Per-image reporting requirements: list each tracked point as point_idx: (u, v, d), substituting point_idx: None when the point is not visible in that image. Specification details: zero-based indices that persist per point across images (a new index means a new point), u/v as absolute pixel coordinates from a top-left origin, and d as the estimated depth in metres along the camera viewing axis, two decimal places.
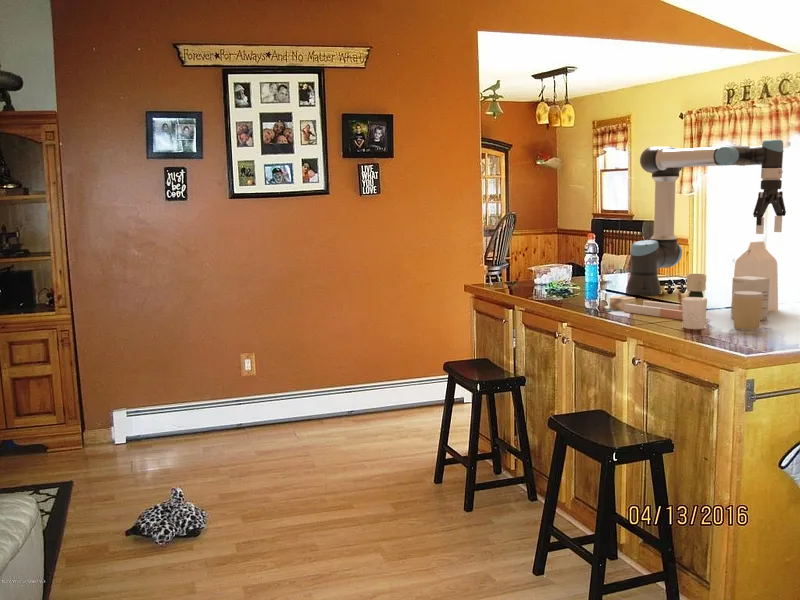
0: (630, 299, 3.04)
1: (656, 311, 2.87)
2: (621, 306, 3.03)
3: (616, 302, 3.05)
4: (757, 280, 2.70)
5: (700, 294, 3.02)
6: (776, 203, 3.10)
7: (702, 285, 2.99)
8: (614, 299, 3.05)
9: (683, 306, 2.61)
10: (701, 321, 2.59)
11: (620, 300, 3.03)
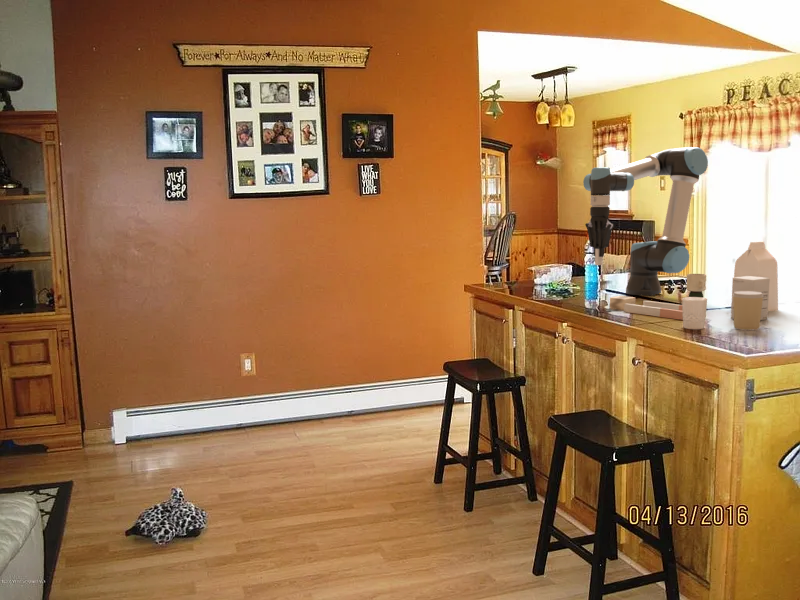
0: (630, 299, 3.04)
1: (656, 311, 2.87)
2: (622, 306, 3.03)
3: (616, 302, 3.05)
4: (757, 280, 2.70)
5: (700, 294, 3.02)
6: None
7: (702, 285, 2.99)
8: (614, 299, 3.05)
9: (683, 306, 2.61)
10: (701, 321, 2.59)
11: (621, 300, 3.03)
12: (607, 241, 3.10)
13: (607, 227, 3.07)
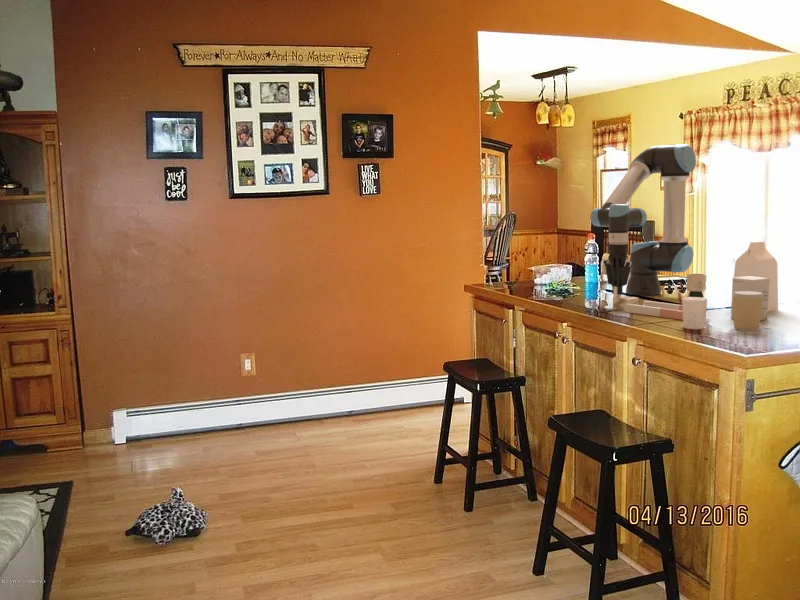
0: (633, 299, 3.02)
1: (656, 311, 2.87)
2: None
3: (619, 303, 3.03)
4: (757, 280, 2.70)
5: (700, 294, 3.02)
6: None
7: (702, 285, 2.99)
8: (617, 299, 3.04)
9: (683, 306, 2.61)
10: (701, 321, 2.59)
11: (624, 300, 3.01)
12: (626, 279, 3.04)
13: (626, 265, 3.02)
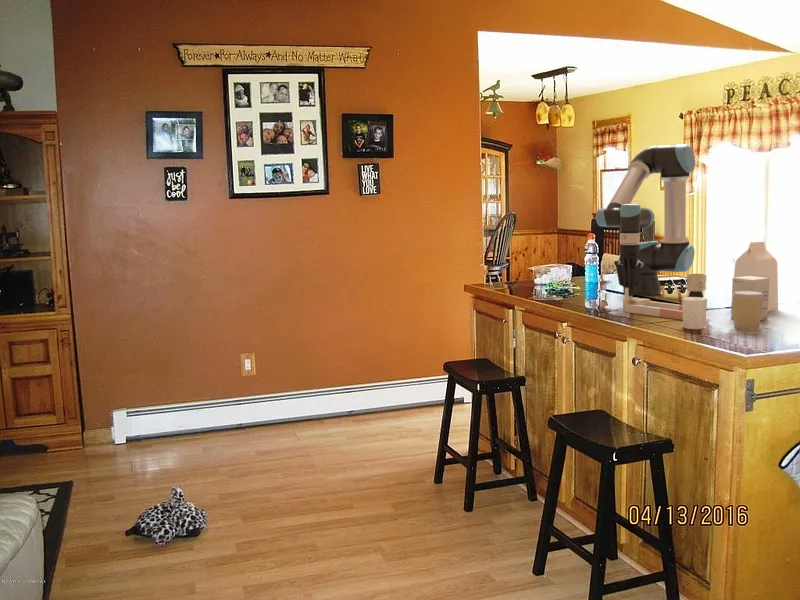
0: (644, 301, 2.98)
1: (656, 311, 2.87)
2: None
3: None
4: (757, 280, 2.70)
5: (700, 294, 3.02)
6: None
7: (702, 285, 2.99)
8: (628, 301, 2.99)
9: (683, 306, 2.61)
10: (701, 321, 2.59)
11: (634, 302, 2.97)
12: (637, 280, 3.00)
13: (637, 266, 2.97)
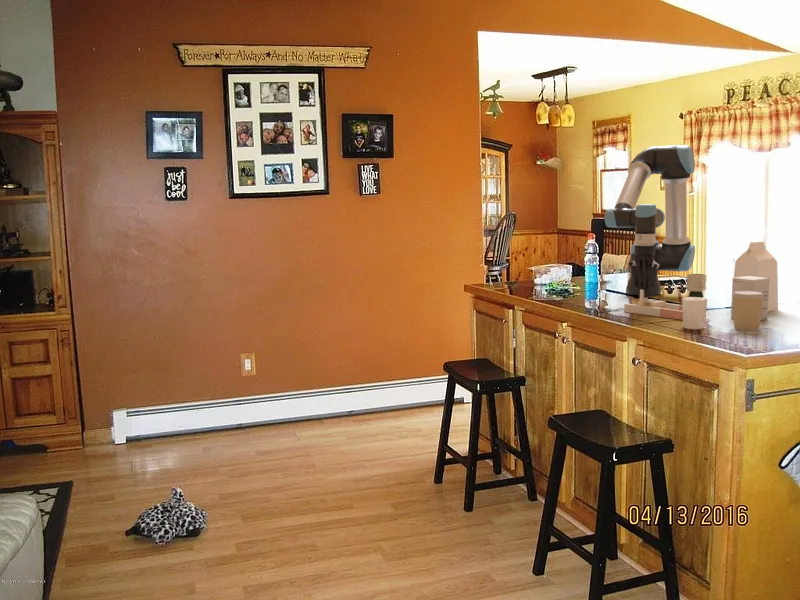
0: (660, 303, 2.92)
1: (656, 311, 2.87)
2: None
3: None
4: (757, 280, 2.70)
5: (700, 294, 3.02)
6: None
7: (702, 285, 2.99)
8: (643, 303, 2.94)
9: (683, 306, 2.61)
10: (701, 321, 2.59)
11: (649, 304, 2.91)
12: (653, 282, 2.94)
13: (653, 267, 2.92)
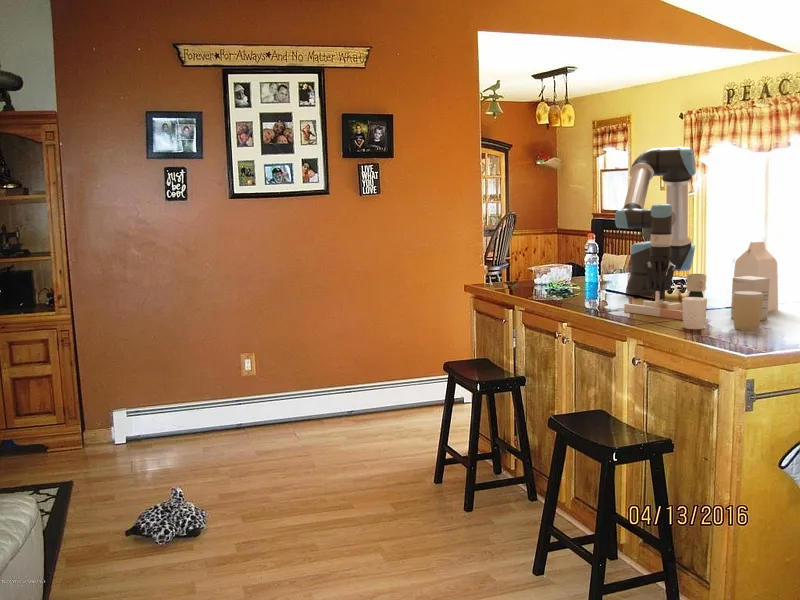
0: (676, 305, 2.86)
1: (656, 311, 2.87)
2: None
3: None
4: (757, 280, 2.70)
5: (700, 294, 3.02)
6: None
7: (702, 285, 2.99)
8: (659, 305, 2.88)
9: (683, 306, 2.61)
10: (701, 321, 2.59)
11: (665, 306, 2.86)
12: (669, 283, 2.88)
13: (669, 269, 2.86)
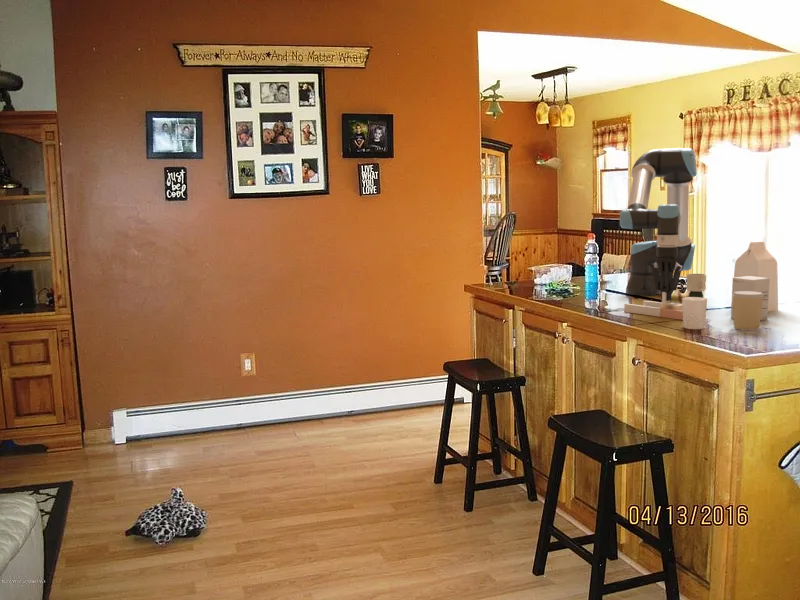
0: None
1: (656, 311, 2.87)
2: None
3: None
4: (757, 280, 2.70)
5: (700, 294, 3.02)
6: None
7: (702, 285, 2.99)
8: (665, 306, 2.86)
9: (683, 306, 2.61)
10: (701, 321, 2.59)
11: (672, 307, 2.83)
12: (676, 284, 2.86)
13: (676, 269, 2.84)
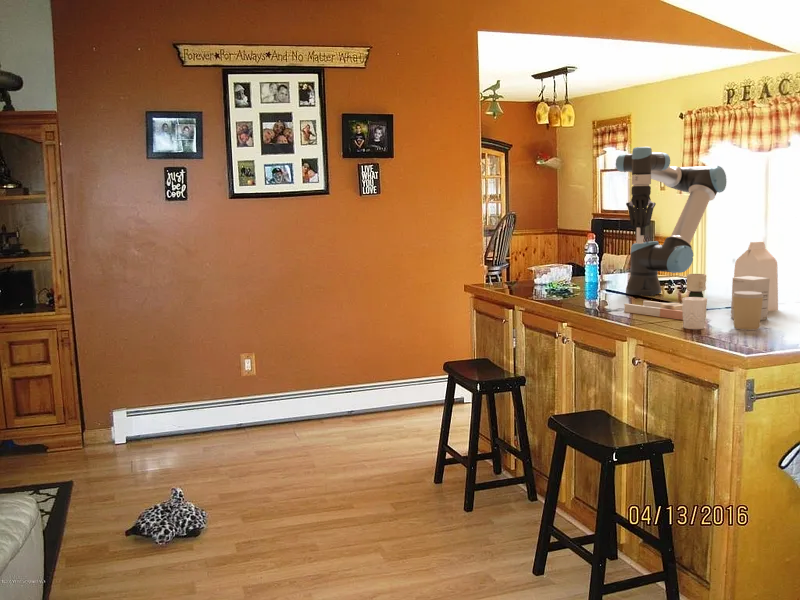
0: None
1: (656, 311, 2.87)
2: None
3: None
4: (757, 280, 2.70)
5: (700, 294, 3.02)
6: None
7: (702, 285, 2.99)
8: (665, 306, 2.86)
9: (683, 306, 2.61)
10: (701, 321, 2.59)
11: (670, 307, 2.83)
12: (648, 220, 3.14)
13: (649, 206, 3.12)
